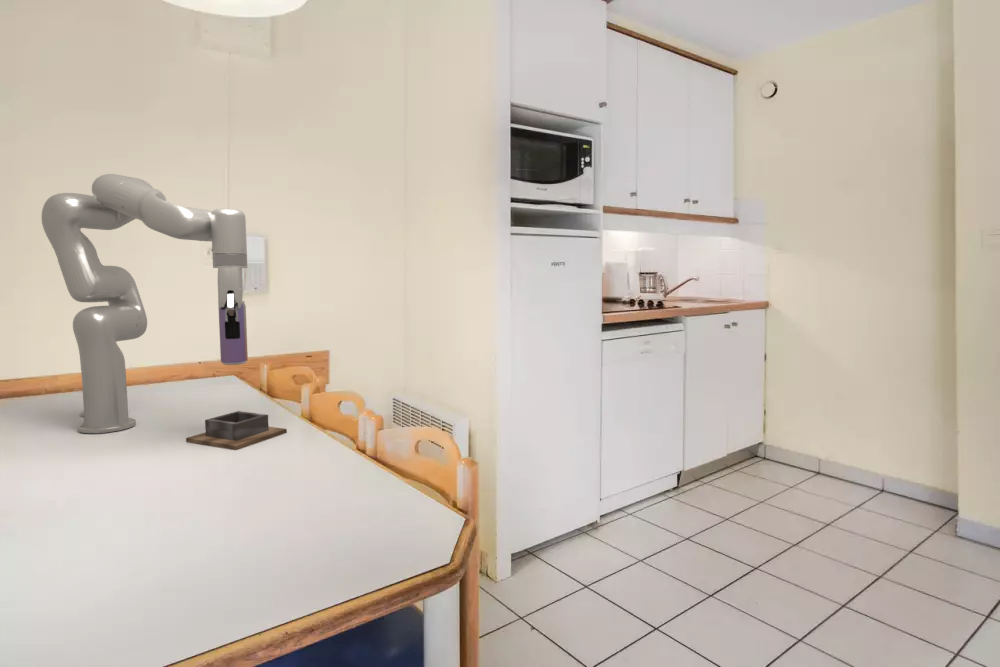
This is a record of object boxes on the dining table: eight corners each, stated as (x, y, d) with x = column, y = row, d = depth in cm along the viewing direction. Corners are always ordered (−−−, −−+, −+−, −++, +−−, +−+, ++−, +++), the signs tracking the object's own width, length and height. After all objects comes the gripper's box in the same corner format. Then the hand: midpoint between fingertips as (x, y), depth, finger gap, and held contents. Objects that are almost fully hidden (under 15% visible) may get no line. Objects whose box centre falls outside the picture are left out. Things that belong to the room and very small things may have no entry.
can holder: (186, 442, 142) (185, 421, 141) (239, 426, 156) (238, 407, 156) (236, 450, 135) (235, 428, 135) (286, 432, 150) (286, 413, 149)
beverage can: (237, 365, 140) (235, 302, 139) (215, 364, 142) (212, 301, 140) (253, 361, 146) (250, 301, 145) (231, 361, 147) (228, 300, 146)
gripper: (215, 262, 148) (218, 334, 150) (209, 261, 132) (213, 341, 134) (248, 262, 151) (250, 333, 152) (246, 261, 135) (249, 340, 137)
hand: (233, 336), depth 143 cm, fingers closed on beverage can, 5 cm apart
